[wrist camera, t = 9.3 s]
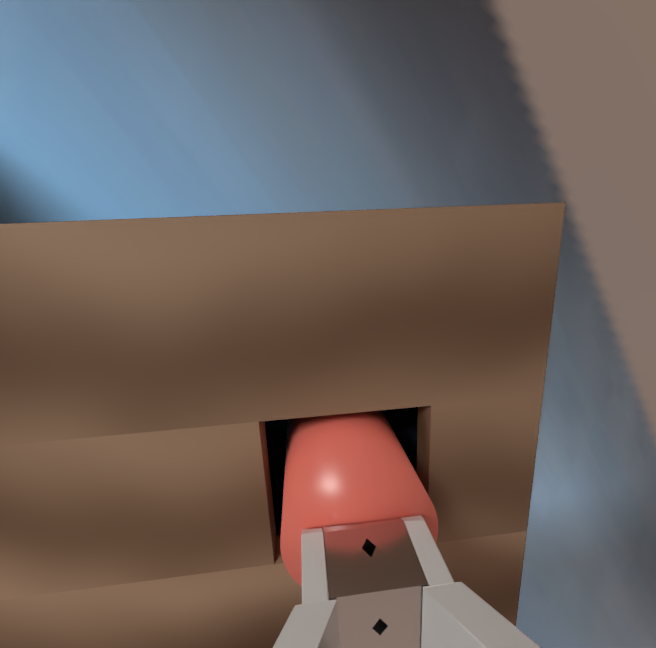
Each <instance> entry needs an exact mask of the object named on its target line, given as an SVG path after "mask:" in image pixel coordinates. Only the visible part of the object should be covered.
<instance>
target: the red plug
mask: <svg viewBox="0 0 656 648" xmlns="http://www.w3.org/2000/svg"><path fill="white" fill-rule="evenodd" d="M419 515H421V516H422V517H423V518H424V520H425V522H426V524H427V526H428V528H429V530H430V532H431V534H432V536H433V538H434V540H435V542H437V538H438V518H437V513H436V510H435V508H434V505H433V503H432V501H431V500H430V498H429V496H428V494H427V492H426V490H425V488H424V487H423V485H422V483H421V481H420V479H419V477H418V476H417V474H416V472H415V470H414V468H413V466H412V464H411V463H410V461H409V459H408V457H407V455H406V453H405V452H404V450H403V448H402V446H401V444H400V442H399V440H398V439H397V437H396V435H395V433H394V431H393V429H392V428H391V426H390V424H389V422H388V420H387V418H386V416H385V415H384V413H383V411H382V410H379V411H369V412H358V413H347V414H336V415H326V416H315V417H304V418H293V419H288V427H287V443H286V459H285V474H284V490H283V506H282V522H281V537H280V550H281V555H282V560H283V562H284V565H285V567H286V569H287V571H288V573H289V574H290V575H291V577H292V578H293V579H294V581H296V582H297V583H298V584H299V585H300V586H301V587H302V561H301V534H302V530H303V529H314V528H322V529H323V527H330V526H341V525H352V524H362V523H366V522H373V521H381V520H388V519H395V518H400V519H401V518H404V517H411V516H419Z"/></svg>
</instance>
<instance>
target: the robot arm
mask: <svg viewBox="0 0 656 648" xmlns="http://www.w3.org/2000/svg"><path fill="white" fill-rule="evenodd" d="M301 561H302V604H299V605H295V606H294V608H293V610H292V612H291V614H290V616H289V617H288V619H287V621H286V623H285V625H284V627H283V629H282V631H281V633H280V635H279V636H278V638H277V640H276V642H275V644H274V646H273V648H541V647H540V646H538V645H537V644H536V643H535V642H534V641H532V640H531V639H530V638H529V637H528V636H526V635H525V634H524V633H523V632H522V631H520V630H519V629H518V628H517V627H516V626H514V625H513V624H512V623H511V622H510V621H508V620H507V619H506V618H505V617H504V616H502V615H501V614H500V613H499V612H498V611H496V610H495V609H494V608H493V607H491V606H490V605H489V604H488V603H487V602H485V601H484V600H483V599H482V598H481V597H479V596H478V595H477V594H476V593H475V592H473V591H472V590H471V589H470V588H469V587H467V586H466V585H465V584H464V583H463V582H454V580H453V577H452V575H451V573H450V571H449V569H448V567H447V565H446V563H445V561H444V559H443V557H442V555H441V553H440V551H439V549H438V547H437V544H436V542H435V540H434V538H433V536H432V534H431V532H430V530H429V528H428V526H427V524H426V522H425V520H424V518H423V517H422V516H421V515H419V516H411V517H404V518H401V519H400V518H395V519H388V520H381V521H373V522H366V523H362V524H352V525H341V526H330V527H323V529H322V528H314V529H303V530H302V534H301Z"/></svg>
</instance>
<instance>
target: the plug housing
mask: <svg viewBox="0 0 656 648" xmlns="http://www.w3.org/2000/svg"><path fill="white" fill-rule="evenodd" d="M565 204H566V202H559V203H532V204H506V205H480V206H454V207H428V208H402V209H376V210H350V211H323V212H297V213H271V214H245V215H219V216H193V217H167V218H141V219H114V220H88V221H62V222H36V223H10V224H0V648H273V646H274V644H275V642H276V640H277V638H278V636H279V635H280V633H281V631H282V629H283V627H284V625H285V623H286V621H287V619H288V617H289V616H290V614H291V612H292V610H293V608H294V606H295V605H299V604H302V587H301V586H300V585H299V584H298V583H297V582H296V581H294V579H293V578H292V577H291V575H290V574H289V573H288V571H287V569H286V567H285V565H284V562H283V560H282V555H281V550H280V537H281V522H280V523H275V517H274V508H273V498H272V489H271V479H270V470H269V460H268V451H267V441H266V432H265V422H264V421H272V420H283V419H293V418H304V417H315V416H326V415H336V414H347V413H358V412H369V411H379V410H390V409H401V408H412V407H418V425H417V476H418V477H419V479H420V481H421V483H422V485H423V487H424V488H425V490H426V492H427V494H428V496H429V498H430V500H431V501H432V503H433V505H434V508H435V510H436V513H437V518H438V538H437V542H436V544H437V547H438V549H439V551H440V553H441V555H442V557H443V559H444V561H445V563H446V565H447V567H448V569H449V571H450V573H451V575H452V577H453V580H454V582H463V583H464V584H465V585H466V586H467V587H469V588H470V589H471V590H472V591H473V592H475V593H476V594H477V595H478V596H479V597H481V598H482V599H483V600H484V601H485V602H487V603H488V604H489V605H490V606H491V607H493V608H494V609H495V610H496V611H498V612H499V613H500V614H501V615H502V616H504V617H505V618H506V619H507V620H508V621H510V622H511V623H512V624H513V625H514V626H516V619H517V610H518V602H519V593H520V585H521V576H522V568H523V559H524V551H525V542H526V534H527V526H528V517H529V509H530V500H531V492H532V483H533V475H534V466H535V458H536V449H537V441H538V432H539V424H540V416H541V407H542V399H543V390H544V382H545V373H546V365H547V356H548V348H549V339H550V331H551V323H552V314H553V306H554V297H555V289H556V280H557V272H558V263H559V255H560V246H561V238H562V229H563V221H564V213H565Z"/></svg>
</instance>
